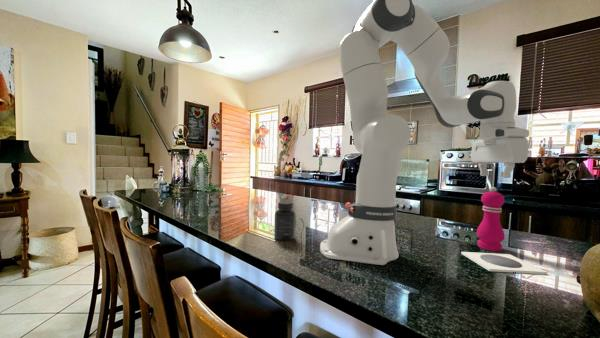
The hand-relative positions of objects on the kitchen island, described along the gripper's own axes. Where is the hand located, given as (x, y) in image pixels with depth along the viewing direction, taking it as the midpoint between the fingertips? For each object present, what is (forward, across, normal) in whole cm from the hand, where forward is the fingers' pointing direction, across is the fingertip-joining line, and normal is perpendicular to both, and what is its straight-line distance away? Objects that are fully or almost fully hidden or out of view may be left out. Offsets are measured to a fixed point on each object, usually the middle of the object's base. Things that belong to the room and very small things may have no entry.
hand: (494, 176), depth 81 cm
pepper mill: (+23, 0, 0) cm, 23 cm away
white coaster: (+23, +13, -6) cm, 27 cm away
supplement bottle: (+23, +1, -67) cm, 71 cm away
